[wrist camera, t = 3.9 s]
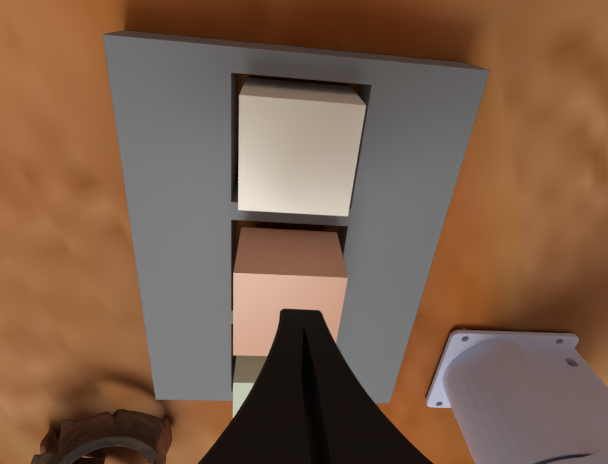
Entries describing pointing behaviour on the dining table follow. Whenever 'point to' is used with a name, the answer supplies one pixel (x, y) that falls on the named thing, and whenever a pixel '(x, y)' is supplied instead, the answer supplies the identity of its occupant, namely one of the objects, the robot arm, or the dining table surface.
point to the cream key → (298, 146)
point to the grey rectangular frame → (224, 212)
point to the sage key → (245, 377)
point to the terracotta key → (284, 283)
